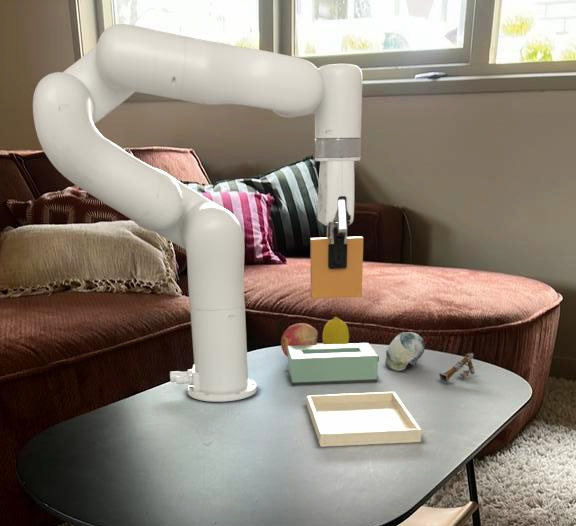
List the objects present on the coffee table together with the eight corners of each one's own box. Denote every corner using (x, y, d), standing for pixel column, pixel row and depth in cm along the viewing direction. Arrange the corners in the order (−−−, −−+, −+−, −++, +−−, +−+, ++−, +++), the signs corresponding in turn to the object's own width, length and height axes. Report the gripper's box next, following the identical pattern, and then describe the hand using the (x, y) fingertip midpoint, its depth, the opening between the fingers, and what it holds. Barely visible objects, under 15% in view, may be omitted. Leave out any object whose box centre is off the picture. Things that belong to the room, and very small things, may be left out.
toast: (311, 298, 135) (311, 239, 130) (310, 297, 136) (310, 238, 132) (361, 297, 135) (363, 237, 131) (360, 295, 137) (361, 236, 132)
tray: (320, 446, 113) (320, 434, 112) (306, 406, 130) (306, 395, 130) (421, 442, 114) (421, 429, 113) (394, 402, 131) (394, 391, 131)
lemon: (336, 350, 165) (336, 313, 161) (354, 355, 161) (354, 317, 157) (317, 355, 161) (317, 317, 158) (334, 360, 158) (335, 321, 154)
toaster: (292, 385, 142) (291, 358, 140) (287, 370, 151) (287, 345, 149) (382, 381, 143) (383, 355, 141) (372, 367, 152) (373, 342, 150)
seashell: (382, 377, 151) (405, 362, 160) (415, 366, 146) (437, 351, 156) (371, 347, 150) (395, 333, 159) (404, 334, 145) (426, 321, 154)
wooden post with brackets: (480, 371, 145) (475, 351, 142) (450, 394, 143) (445, 374, 140) (473, 369, 146) (468, 349, 143) (444, 392, 144) (438, 372, 141)
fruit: (305, 370, 151) (305, 329, 148) (273, 364, 155) (272, 325, 152) (326, 361, 157) (326, 322, 153) (295, 356, 161) (295, 318, 157)
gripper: (308, 151, 132) (309, 261, 140) (322, 152, 118) (321, 275, 126) (351, 150, 133) (349, 260, 141) (370, 151, 119) (366, 273, 127)
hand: (336, 266), depth 133 cm, fingers closed on toast, 1 cm apart
